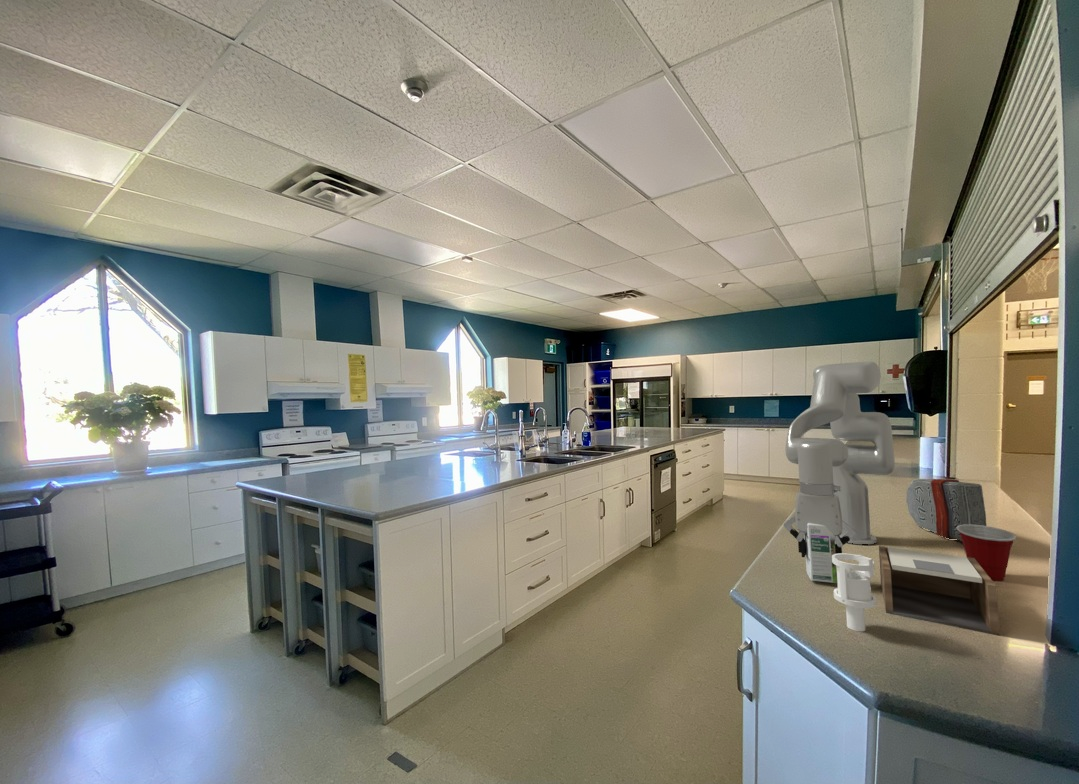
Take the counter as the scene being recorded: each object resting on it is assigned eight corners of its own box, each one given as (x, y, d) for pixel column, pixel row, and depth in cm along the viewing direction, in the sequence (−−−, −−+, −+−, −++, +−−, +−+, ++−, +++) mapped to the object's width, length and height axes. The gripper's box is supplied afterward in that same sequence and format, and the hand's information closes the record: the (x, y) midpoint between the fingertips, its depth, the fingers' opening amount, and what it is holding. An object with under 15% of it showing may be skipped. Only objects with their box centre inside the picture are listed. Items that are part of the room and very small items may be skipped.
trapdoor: (887, 551, 105) (887, 546, 105) (966, 561, 97) (966, 556, 97) (892, 569, 94) (892, 564, 94) (982, 583, 86) (981, 577, 86)
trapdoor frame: (880, 583, 108) (878, 545, 108) (976, 600, 98) (974, 558, 98) (886, 612, 93) (883, 568, 93) (999, 635, 83) (996, 586, 83)
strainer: (864, 640, 83) (860, 561, 83) (827, 623, 89) (823, 551, 90) (885, 631, 86) (881, 555, 86) (848, 616, 92) (844, 545, 93)
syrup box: (811, 581, 109) (808, 524, 109) (805, 572, 114) (803, 517, 115) (837, 584, 107) (834, 525, 107) (831, 574, 112) (828, 519, 113)
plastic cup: (974, 583, 107) (970, 534, 107) (950, 567, 117) (947, 523, 117) (1032, 588, 103) (1028, 538, 103) (1002, 571, 113) (998, 525, 113)
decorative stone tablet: (986, 482, 130) (920, 475, 160) (960, 482, 132) (900, 475, 161) (994, 548, 128) (926, 529, 157) (969, 547, 129) (906, 528, 158)
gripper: (857, 489, 109) (861, 559, 109) (780, 483, 119) (783, 548, 119) (858, 495, 103) (862, 569, 102) (776, 488, 113) (780, 556, 113)
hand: (820, 557), depth 111 cm, fingers closed on syrup box, 6 cm apart
